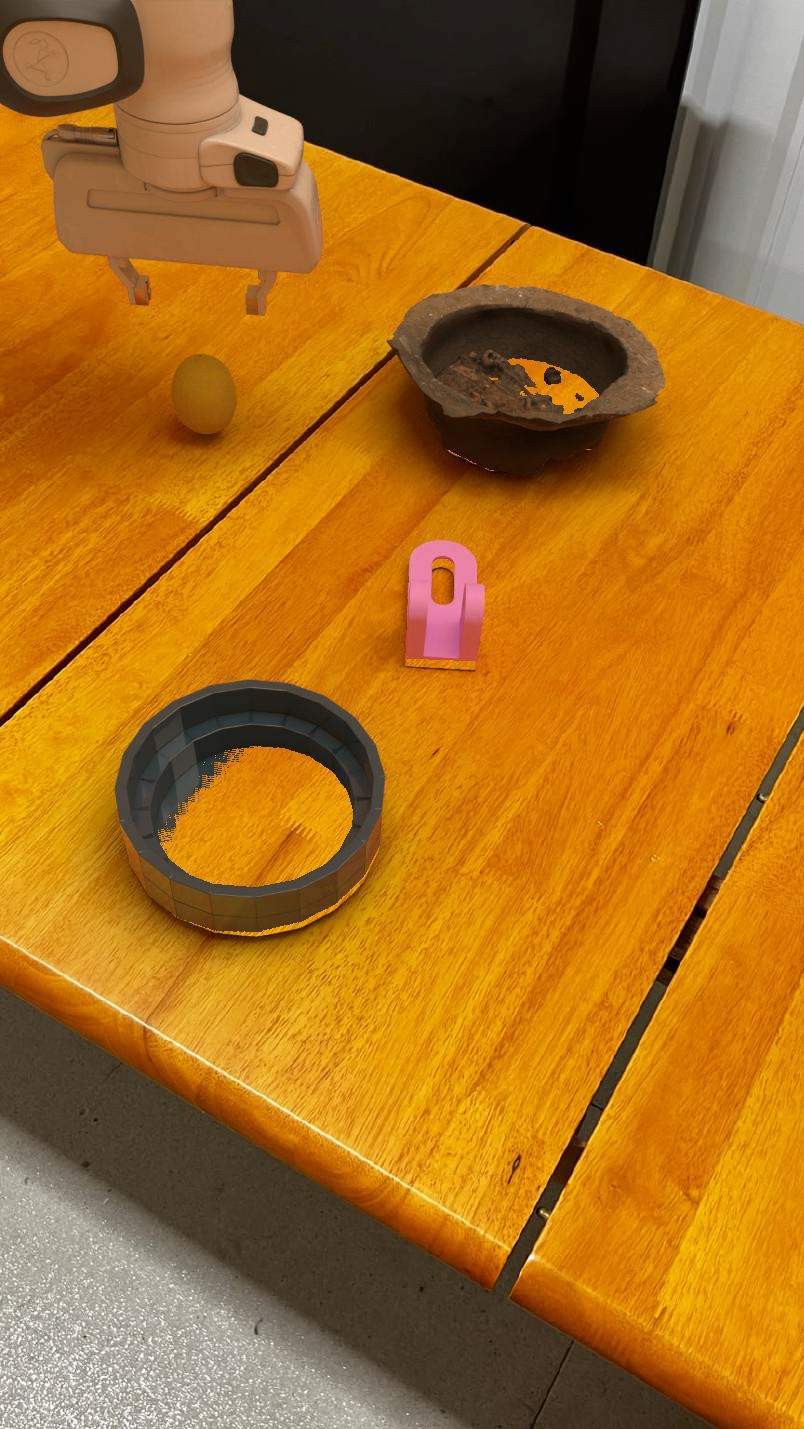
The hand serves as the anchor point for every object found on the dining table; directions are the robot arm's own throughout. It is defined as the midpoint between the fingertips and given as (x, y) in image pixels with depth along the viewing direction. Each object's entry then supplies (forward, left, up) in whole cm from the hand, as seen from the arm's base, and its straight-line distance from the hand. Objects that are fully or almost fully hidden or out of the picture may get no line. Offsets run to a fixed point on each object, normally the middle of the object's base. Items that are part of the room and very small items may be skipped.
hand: (199, 306), depth 100 cm
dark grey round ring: (+10, -42, -13) cm, 45 cm away
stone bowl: (+28, +7, -13) cm, 31 cm away
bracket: (+22, -19, -13) cm, 32 cm away
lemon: (0, 0, -13) cm, 13 cm away
